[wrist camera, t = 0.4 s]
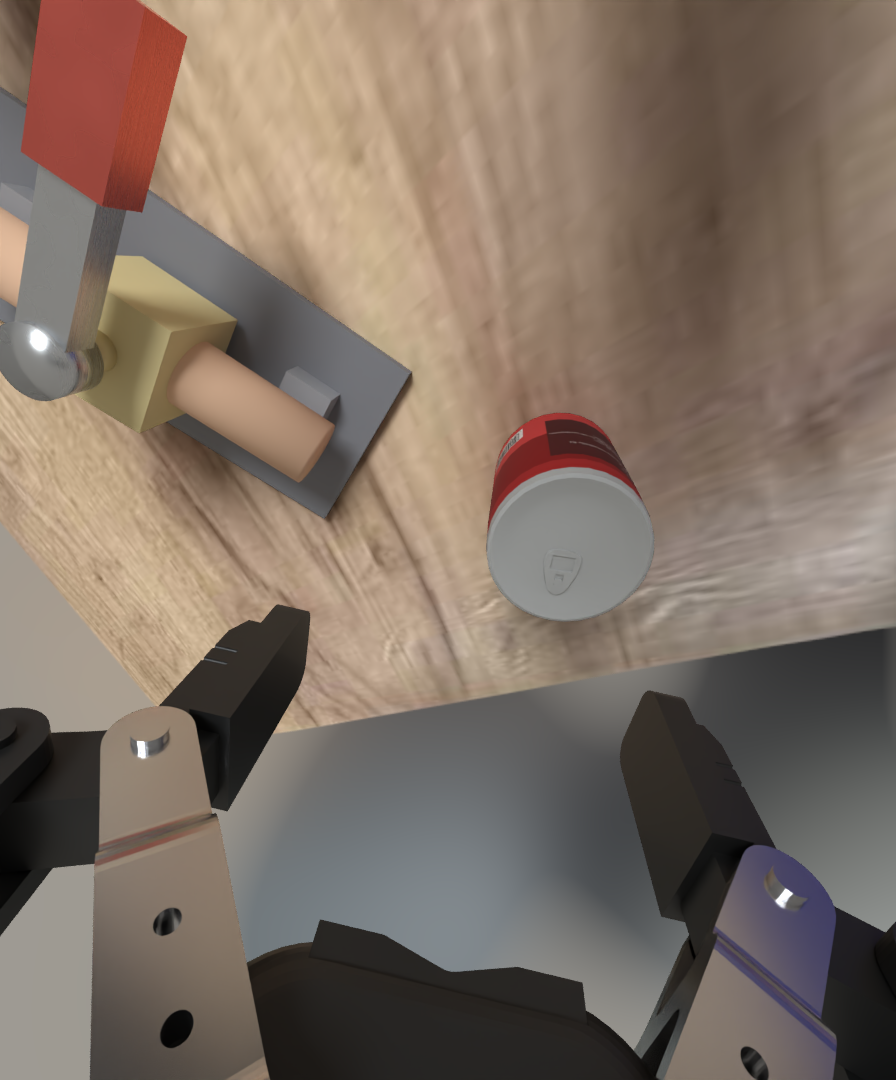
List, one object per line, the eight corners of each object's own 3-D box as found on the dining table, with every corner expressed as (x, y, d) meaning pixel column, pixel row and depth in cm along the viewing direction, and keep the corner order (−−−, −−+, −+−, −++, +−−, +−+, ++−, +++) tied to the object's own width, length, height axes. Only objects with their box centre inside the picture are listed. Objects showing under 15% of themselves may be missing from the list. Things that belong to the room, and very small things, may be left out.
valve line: (-4, 84, 26) (-233, 2, 18) (411, 371, 31) (373, 407, 23) (-27, 295, 32) (-211, 304, 24) (328, 513, 36) (273, 583, 28)
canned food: (502, 529, 35) (495, 627, 25) (488, 417, 31) (474, 481, 22) (615, 520, 34) (653, 619, 24) (614, 401, 30) (659, 462, 20)
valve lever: (95, 403, 24) (58, 415, 22) (31, 364, 24) (-12, 373, 22) (190, 38, 17) (148, 8, 15) (101, -29, 17) (46, -68, 15)
